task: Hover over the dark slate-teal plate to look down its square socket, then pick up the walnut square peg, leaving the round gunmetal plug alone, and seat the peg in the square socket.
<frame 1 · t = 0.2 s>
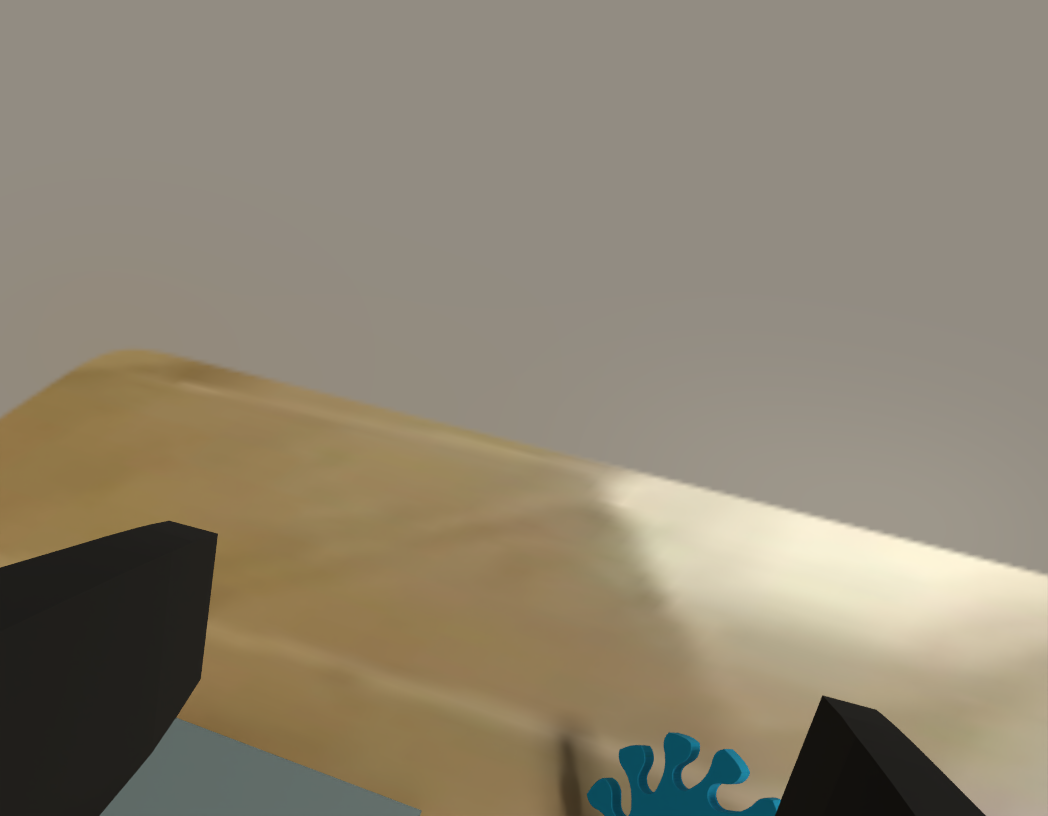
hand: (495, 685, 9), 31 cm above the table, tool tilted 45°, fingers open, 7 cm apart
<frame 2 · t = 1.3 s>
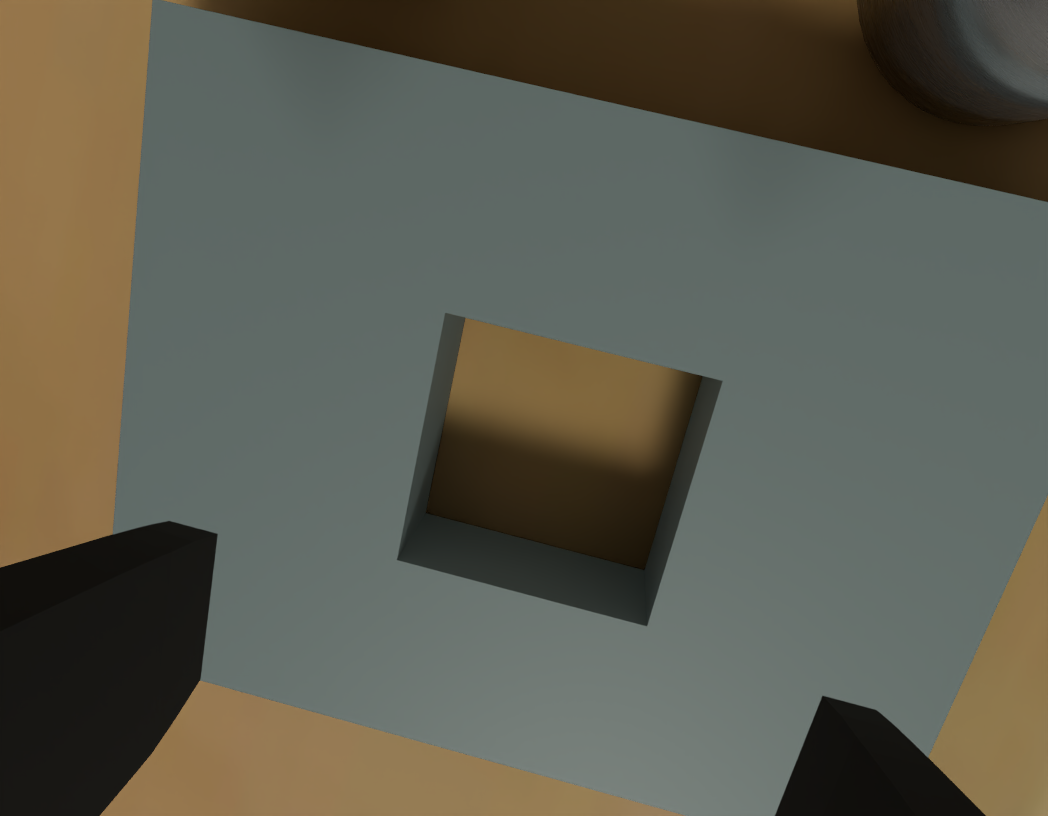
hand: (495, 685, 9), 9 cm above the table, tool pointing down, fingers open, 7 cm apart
socket plate: (560, 437, 18), on the table
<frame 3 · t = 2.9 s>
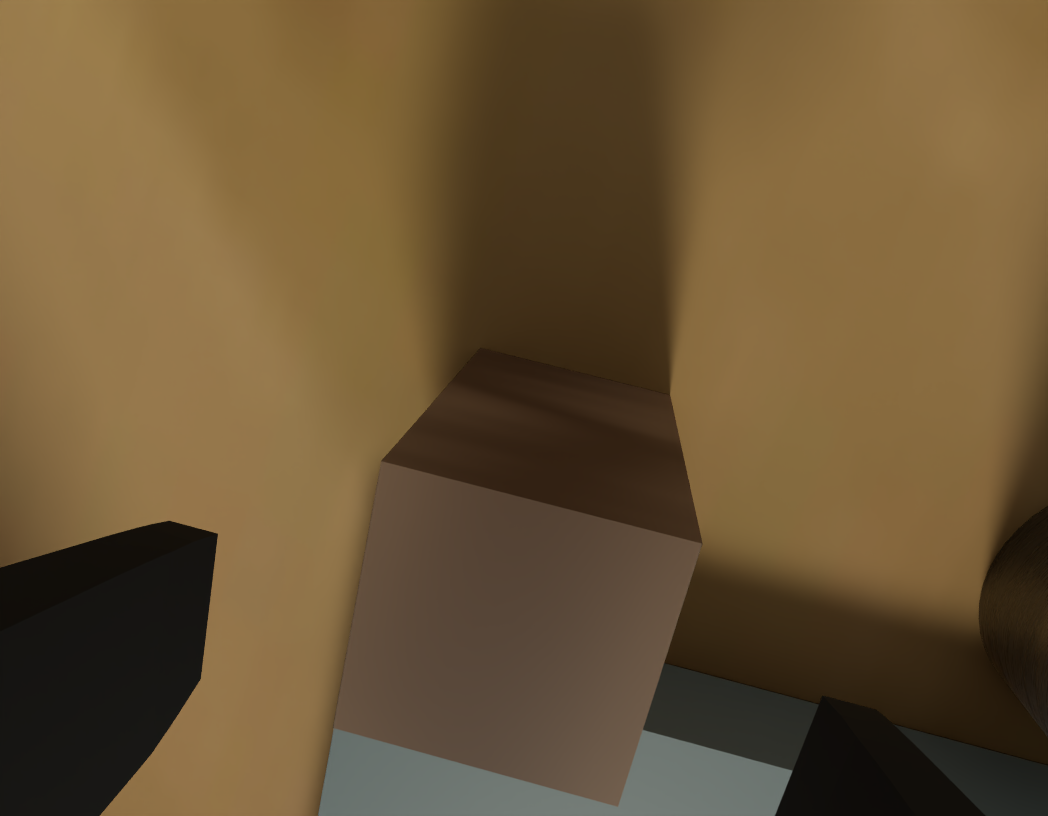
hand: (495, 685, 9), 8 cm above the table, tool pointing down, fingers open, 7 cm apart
walnut peg: (552, 460, 17), on the table
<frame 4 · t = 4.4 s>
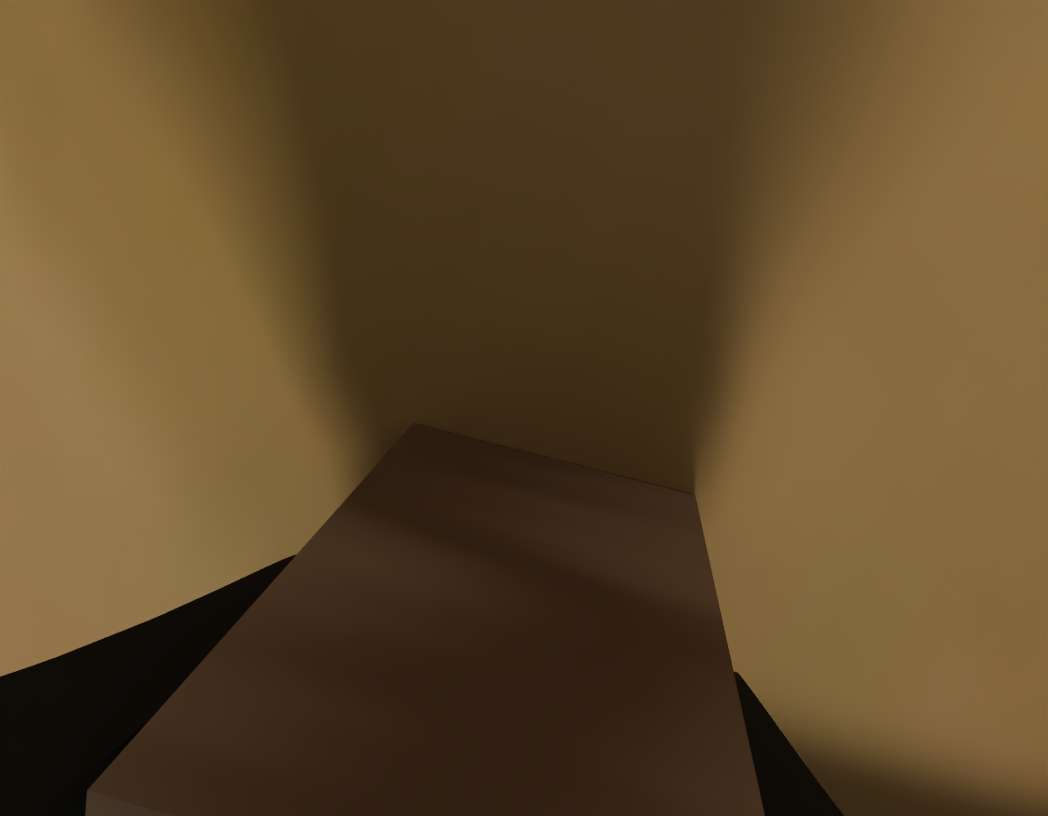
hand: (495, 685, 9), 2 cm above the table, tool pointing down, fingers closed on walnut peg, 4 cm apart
walnut peg: (521, 584, 12), on the table, touching gripper
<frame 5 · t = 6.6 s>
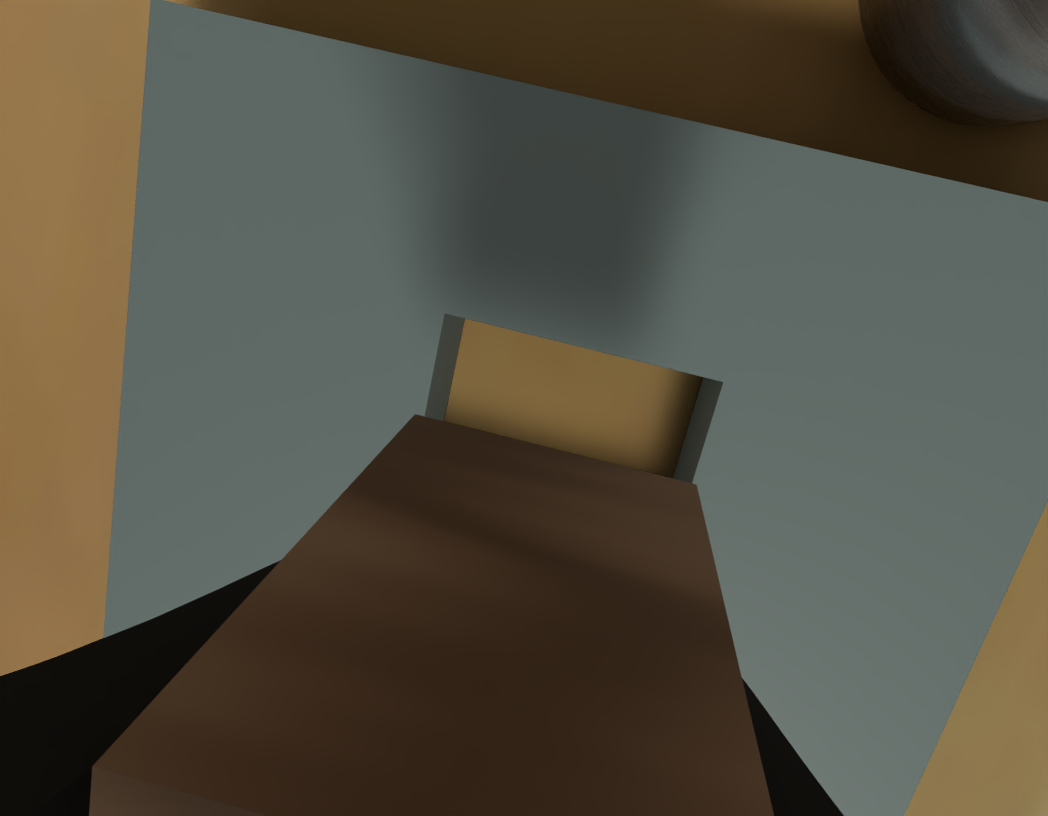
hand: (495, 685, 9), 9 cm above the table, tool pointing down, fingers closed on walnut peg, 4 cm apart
socket plate: (560, 438, 18), on the table
walnut peg: (523, 575, 12), point 7 cm above the table, touching gripper
when the fingers open (3 cm above the table, at t = 8.8 s): walnut peg stays where it is, resting in socket plate.
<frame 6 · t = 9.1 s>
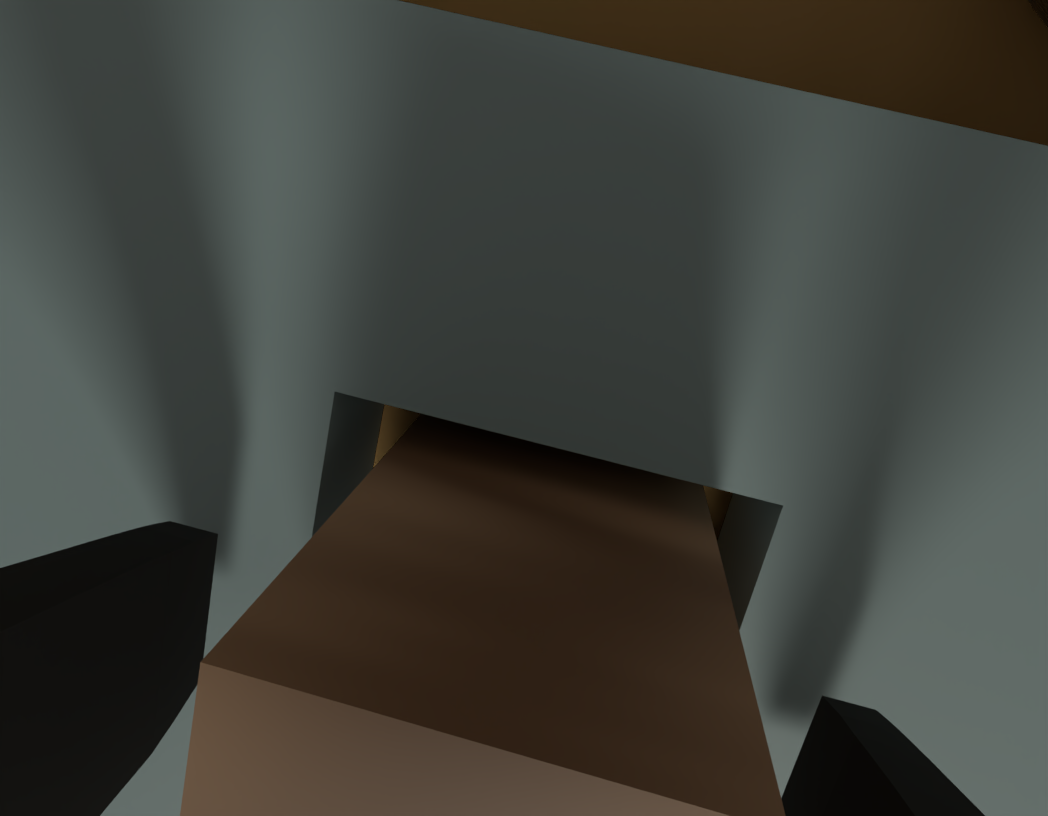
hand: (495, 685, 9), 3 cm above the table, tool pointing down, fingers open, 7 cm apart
socket plate: (529, 554, 12), on the table
walnut peg: (535, 546, 12), resting in socket plate
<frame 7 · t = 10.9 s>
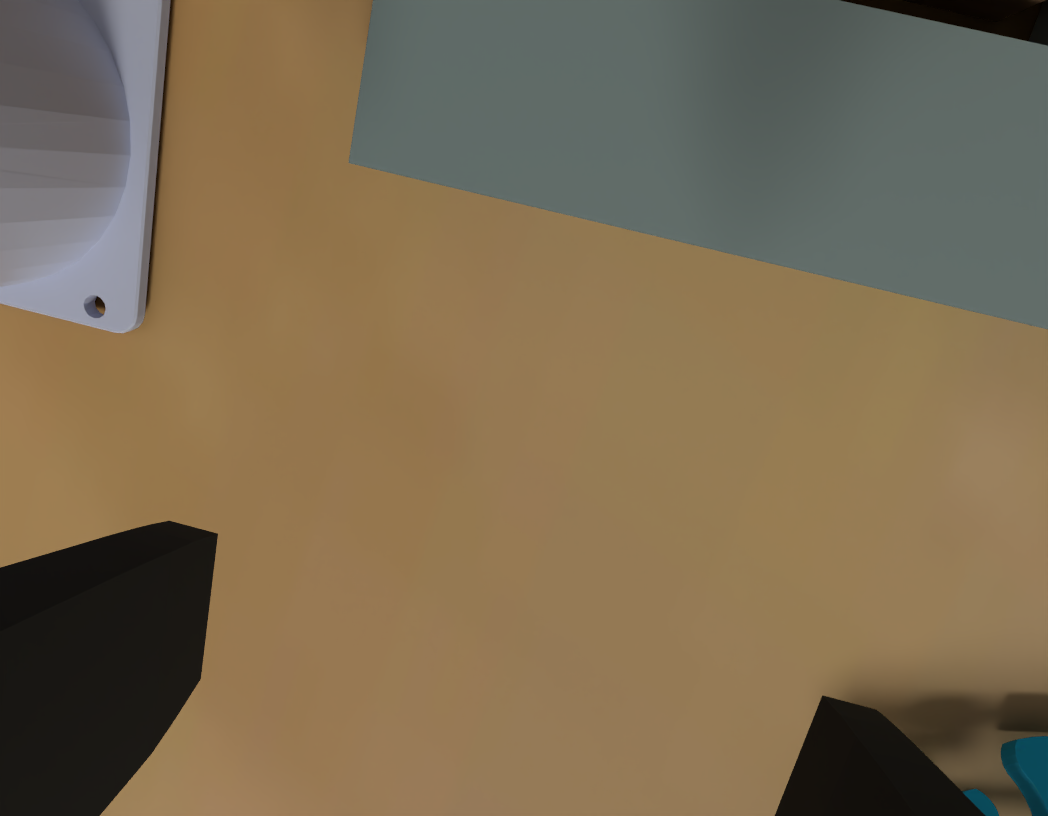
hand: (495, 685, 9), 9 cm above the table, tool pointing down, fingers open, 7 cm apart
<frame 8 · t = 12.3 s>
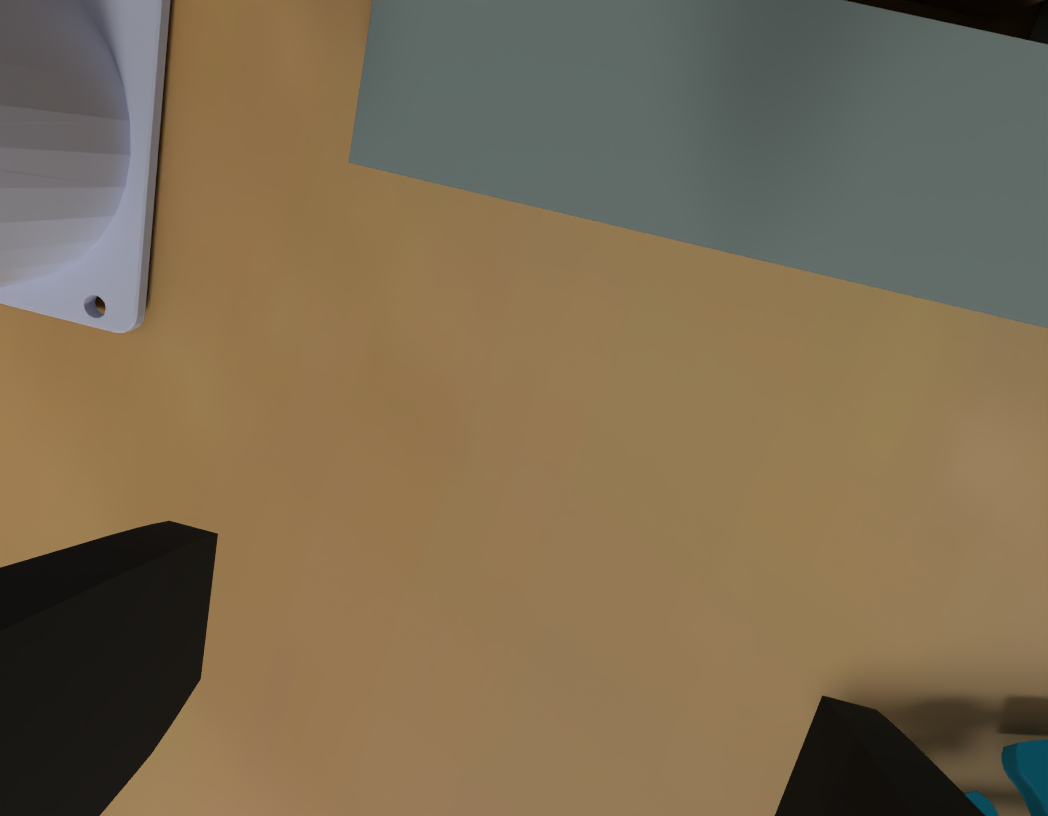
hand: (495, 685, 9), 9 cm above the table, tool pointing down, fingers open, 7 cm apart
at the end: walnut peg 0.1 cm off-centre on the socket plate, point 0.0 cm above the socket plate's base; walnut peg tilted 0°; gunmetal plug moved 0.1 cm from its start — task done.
